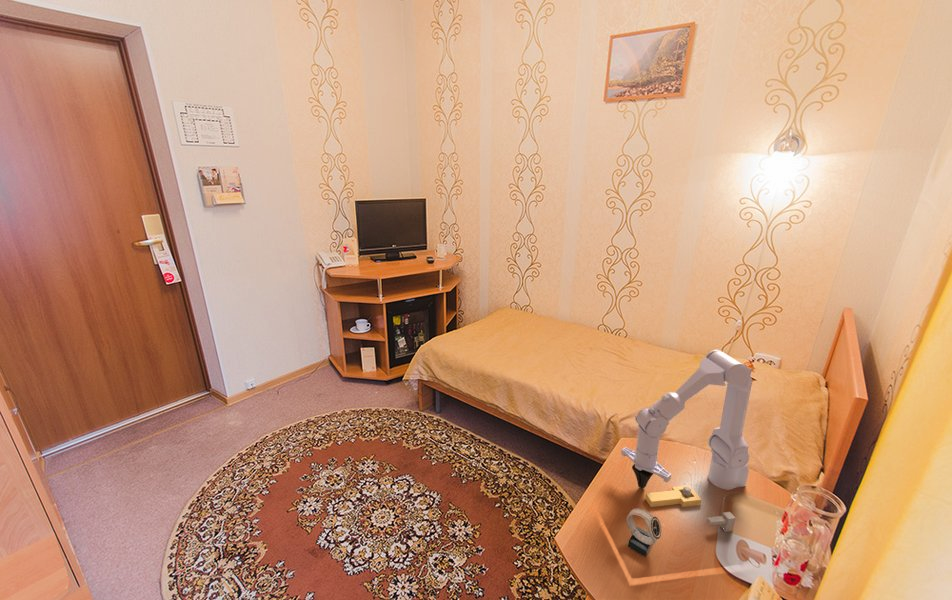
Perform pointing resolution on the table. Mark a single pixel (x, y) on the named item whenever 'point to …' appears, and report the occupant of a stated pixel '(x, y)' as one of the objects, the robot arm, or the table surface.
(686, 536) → the table surface
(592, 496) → the table surface
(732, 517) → the pintle board
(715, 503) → the table surface
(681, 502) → the link
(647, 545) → the watch
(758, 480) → the table surface
